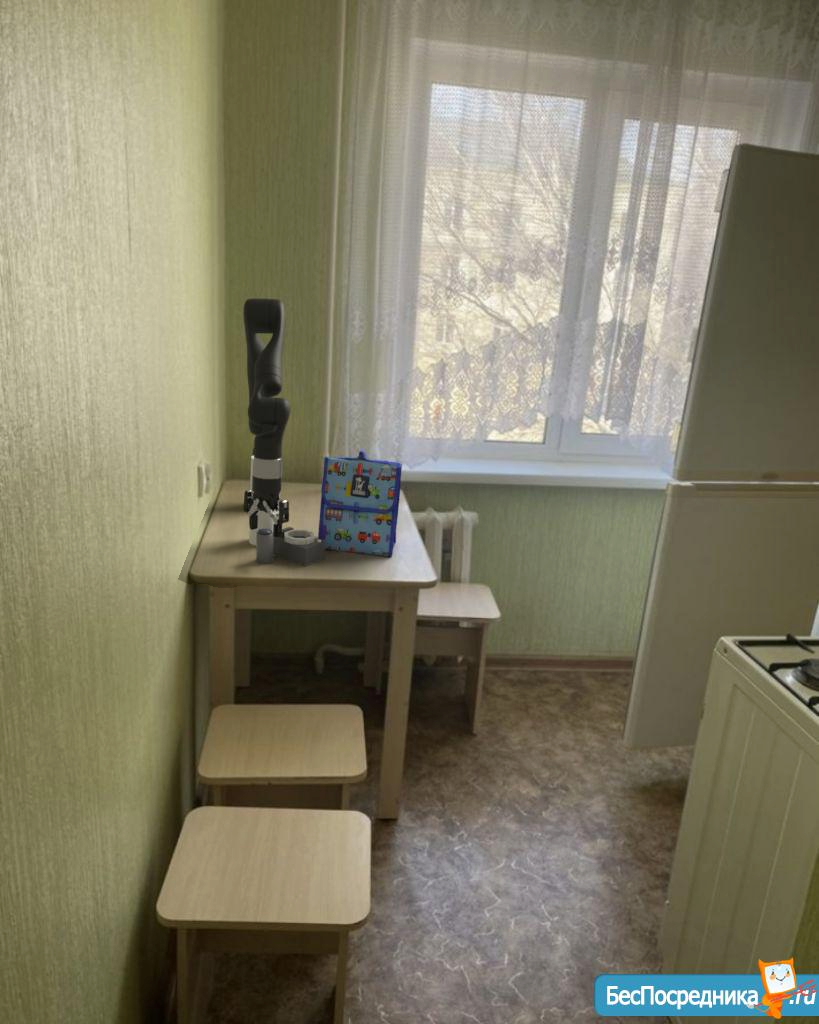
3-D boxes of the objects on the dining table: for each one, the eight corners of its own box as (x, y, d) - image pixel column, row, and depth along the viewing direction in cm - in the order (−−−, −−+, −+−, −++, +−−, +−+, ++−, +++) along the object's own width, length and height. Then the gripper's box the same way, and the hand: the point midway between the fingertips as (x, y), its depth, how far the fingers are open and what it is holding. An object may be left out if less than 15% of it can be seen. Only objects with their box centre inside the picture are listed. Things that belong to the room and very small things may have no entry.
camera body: (272, 554, 210) (273, 531, 208) (292, 547, 217) (293, 525, 215) (305, 566, 204) (306, 543, 202) (324, 558, 211) (325, 536, 209)
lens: (252, 561, 205) (253, 530, 202) (264, 556, 208) (264, 526, 206) (265, 565, 202) (265, 534, 200) (276, 560, 206) (277, 530, 204)
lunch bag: (316, 550, 217) (322, 451, 208) (324, 535, 230) (330, 441, 221) (392, 558, 216) (401, 459, 207) (396, 542, 229) (404, 448, 220)
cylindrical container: (250, 546, 215) (252, 460, 207) (248, 537, 221) (250, 454, 214) (275, 546, 217) (278, 460, 209) (272, 537, 223) (275, 454, 216)
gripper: (237, 470, 199) (235, 529, 203) (277, 481, 191) (274, 542, 196) (257, 466, 205) (256, 523, 209) (297, 477, 197) (294, 536, 202)
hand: (265, 532), depth 203 cm, fingers open, 8 cm apart
